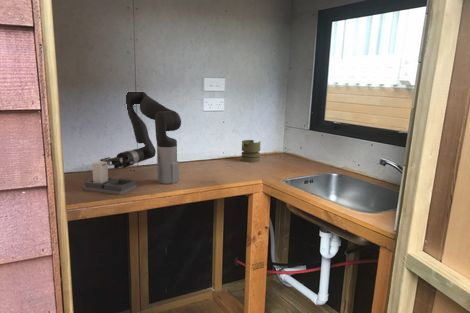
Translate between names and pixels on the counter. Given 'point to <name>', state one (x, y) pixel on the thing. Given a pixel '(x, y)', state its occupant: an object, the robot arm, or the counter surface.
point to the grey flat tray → (111, 186)
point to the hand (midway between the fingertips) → (106, 165)
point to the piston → (250, 151)
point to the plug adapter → (100, 172)
